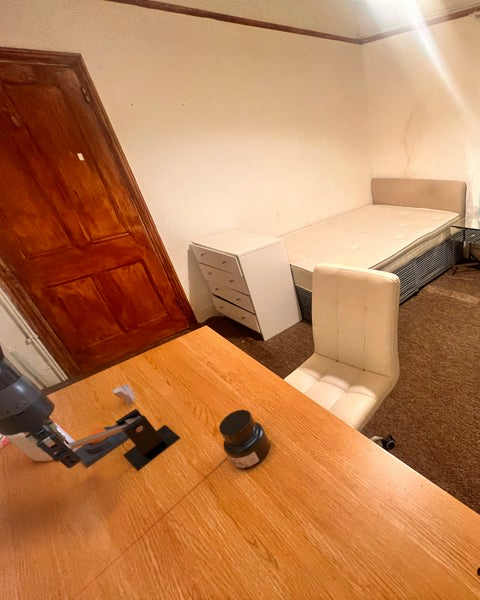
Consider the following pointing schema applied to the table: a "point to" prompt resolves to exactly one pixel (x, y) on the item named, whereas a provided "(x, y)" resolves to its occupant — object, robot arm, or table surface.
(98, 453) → the button box
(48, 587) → the table surface
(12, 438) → the photo printer
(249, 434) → the ink bottle
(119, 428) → the switch lever
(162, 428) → the bracket
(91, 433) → the button
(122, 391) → the pale grey angular bracket
